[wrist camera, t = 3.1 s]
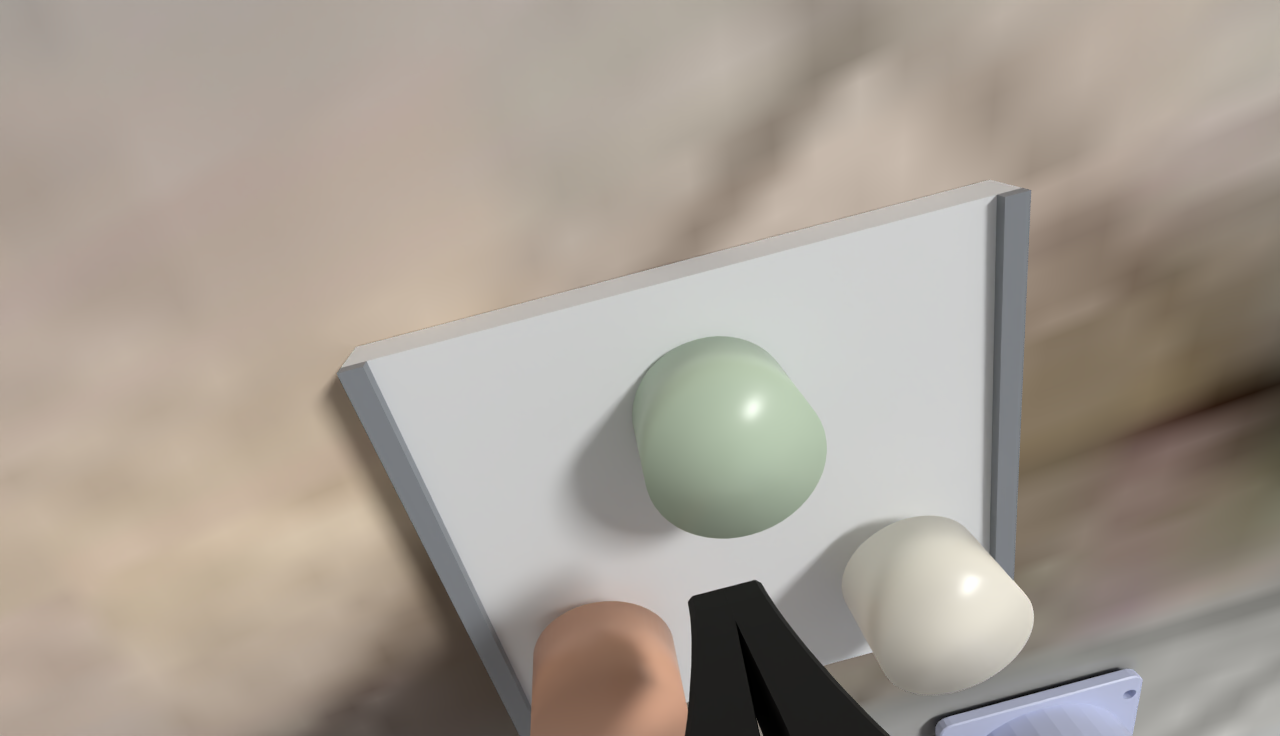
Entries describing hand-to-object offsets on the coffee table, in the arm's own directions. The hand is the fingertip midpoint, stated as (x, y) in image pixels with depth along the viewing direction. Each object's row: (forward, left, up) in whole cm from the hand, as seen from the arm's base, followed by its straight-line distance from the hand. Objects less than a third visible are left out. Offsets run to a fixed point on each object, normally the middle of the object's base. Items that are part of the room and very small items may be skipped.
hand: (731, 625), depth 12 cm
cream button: (-5, -6, -4) cm, 9 cm away
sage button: (+2, -1, -5) cm, 5 cm away
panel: (-2, -1, -6) cm, 7 cm away
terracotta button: (-5, +3, -4) cm, 7 cm away
